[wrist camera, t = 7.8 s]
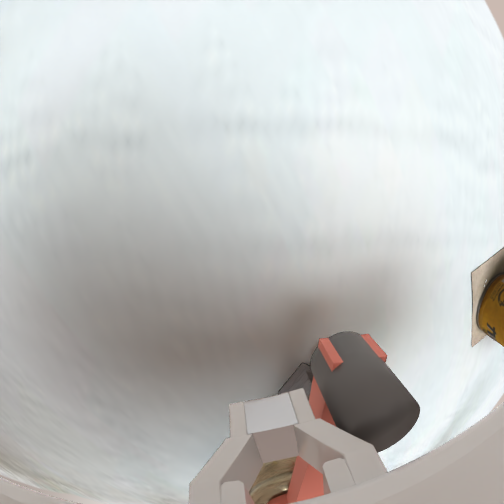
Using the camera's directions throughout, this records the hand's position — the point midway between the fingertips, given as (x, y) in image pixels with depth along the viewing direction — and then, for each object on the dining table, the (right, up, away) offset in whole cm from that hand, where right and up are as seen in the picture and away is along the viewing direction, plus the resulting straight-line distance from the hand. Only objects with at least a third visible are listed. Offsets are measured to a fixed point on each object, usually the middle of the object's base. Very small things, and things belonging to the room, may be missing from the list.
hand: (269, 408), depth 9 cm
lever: (+3, -5, +3) cm, 7 cm away
